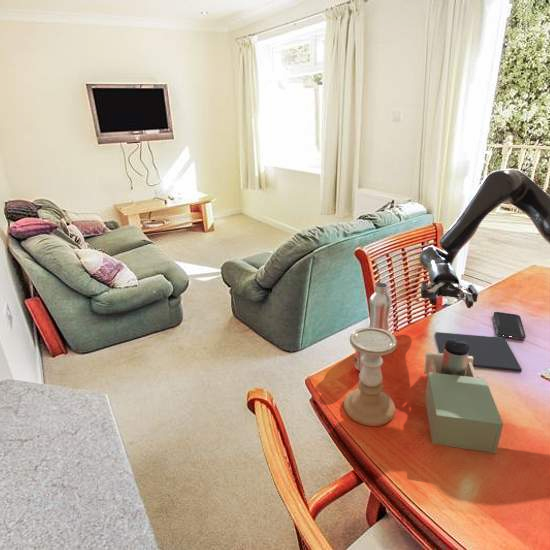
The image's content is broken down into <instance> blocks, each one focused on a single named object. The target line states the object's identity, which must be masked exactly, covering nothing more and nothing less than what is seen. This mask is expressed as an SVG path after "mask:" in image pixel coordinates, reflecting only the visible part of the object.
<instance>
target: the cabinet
mask: <svg viewBox="0 0 550 550" xmlns="http://www.w3.org/2000/svg"><path fill="white" fill-rule="evenodd" d="M424 400H425V408H426V413H427V420H428V425H429V433H430V438H431V444H433V445H437V446H439V445H440V446H444V447H445V446H446V447H451V448H452V447H453V448H458V449H465V450H470V451H478V452H484V453H492V454H497V451H498V447H499V443H500V440H501V435H502V431H503V427H504V422H503V420H502V417H501V415H500V412H499V410H498V407H497V404H496V402H495V399H494V397H493V395H492V392H491V389H490V387H489V385H488V382H487V379H486V378H483V377H477V378H476V377H467V376H458V375H449V374H440V373H431V372H429V373H428V374H427V382H426V389H425V395H424Z"/></svg>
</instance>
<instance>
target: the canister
mask: <svg viewBox="0 0 550 550" xmlns="http://www.w3.org/2000/svg"><path fill="white" fill-rule="evenodd" d="M469 349H470V348H469V346H468V345H467V344H466V343H465V342H462V341H459V340H448V341H446V342H445V345H444V354H443V360H442V367H441V373H440V374H449V375H458V376H464V375H465V370H466V364H467V359H468V353H469Z"/></svg>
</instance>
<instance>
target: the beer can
mask: <svg viewBox="0 0 550 550" xmlns="http://www.w3.org/2000/svg"><path fill="white" fill-rule="evenodd" d="M354 350H355V349H354ZM363 355H364V354H363V353H361V352H359V351H357V350H355V353H354V368H355V369H356V370H357V371H359V372H360V371H361V369H362V366H363V363H362V362H361V357H362V356H363Z"/></svg>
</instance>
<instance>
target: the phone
mask: <svg viewBox="0 0 550 550" xmlns="http://www.w3.org/2000/svg"><path fill="white" fill-rule="evenodd" d="M493 315H494V316H493V321H494V320H495V323H494V327H496V329H495V334H497V335H496V336H497V337H500V336H501V337H500V338H506V337H509V336H512V337H509V338H508V339H512V338H517V339H516V340H518V339H525V340H526V332H525V329H524V328H525V327H524V325H523V322H522V318H521V316H520V315H519V314H515V313H509V312H502V311H494V312H493ZM503 335H504V336H503Z"/></svg>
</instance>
